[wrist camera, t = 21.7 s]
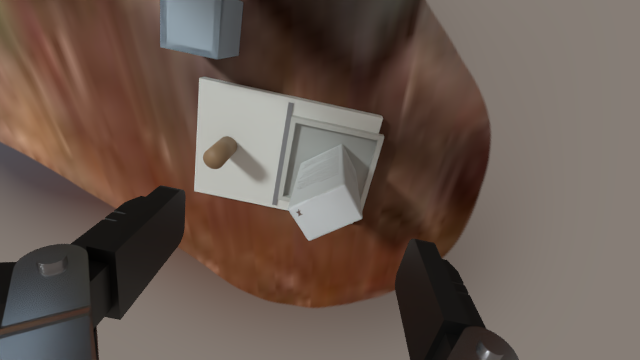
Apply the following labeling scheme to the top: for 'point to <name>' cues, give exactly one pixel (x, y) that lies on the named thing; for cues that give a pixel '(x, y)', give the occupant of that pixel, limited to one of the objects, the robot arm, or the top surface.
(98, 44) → the top surface
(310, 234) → the skincare box
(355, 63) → the top surface
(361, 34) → the top surface
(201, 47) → the blue-grey block
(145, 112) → the top surface
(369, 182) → the board
